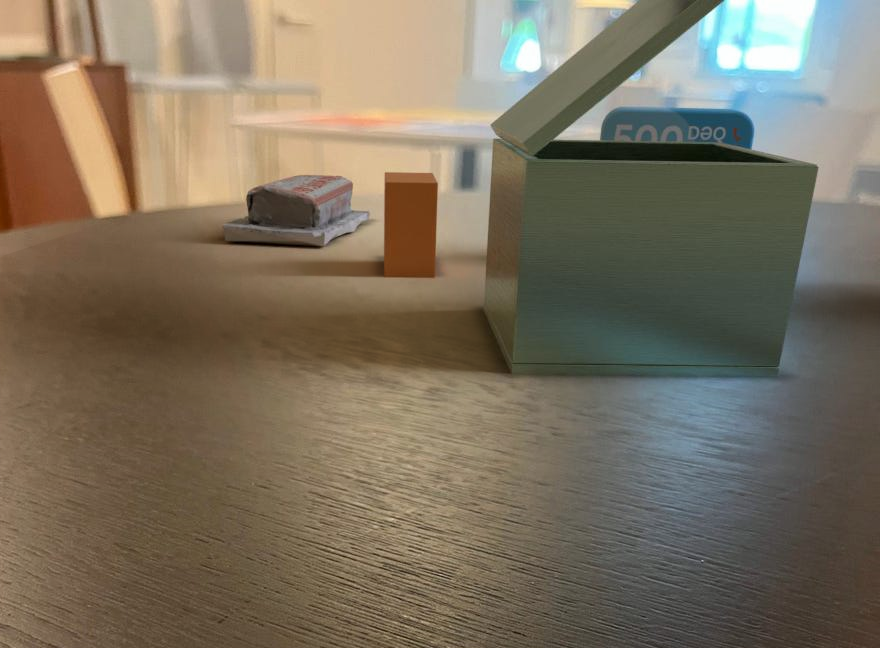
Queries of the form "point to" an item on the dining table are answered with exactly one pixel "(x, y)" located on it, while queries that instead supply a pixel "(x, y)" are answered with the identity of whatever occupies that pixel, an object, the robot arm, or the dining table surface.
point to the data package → (678, 125)
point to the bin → (644, 257)
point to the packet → (410, 225)
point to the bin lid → (597, 70)
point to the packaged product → (297, 212)
